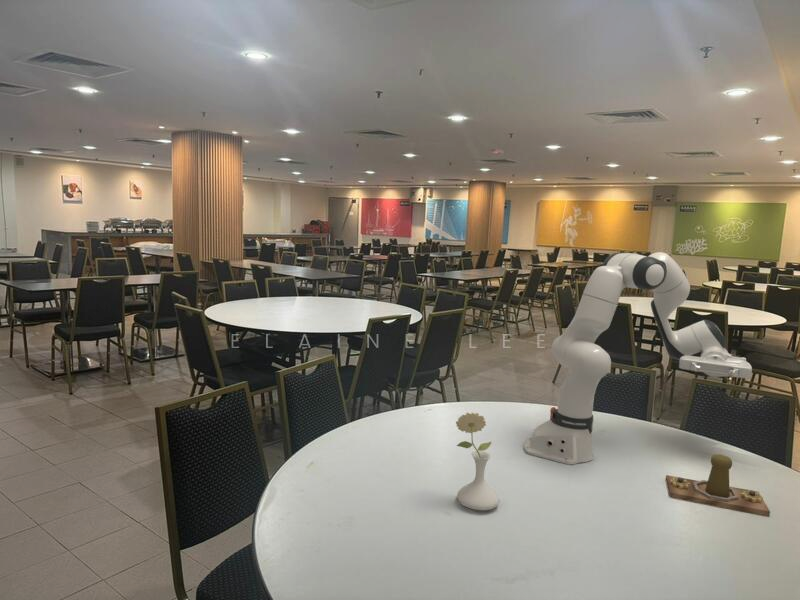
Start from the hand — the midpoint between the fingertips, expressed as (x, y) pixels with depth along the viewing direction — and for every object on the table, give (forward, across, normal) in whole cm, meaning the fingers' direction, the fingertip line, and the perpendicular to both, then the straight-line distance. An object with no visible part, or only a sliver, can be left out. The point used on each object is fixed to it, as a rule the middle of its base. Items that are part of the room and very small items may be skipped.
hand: (714, 371), depth 168 cm
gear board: (+20, +4, +32) cm, 38 cm away
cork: (+20, +4, +31) cm, 37 cm away
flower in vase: (+63, -52, +32) cm, 88 cm away
